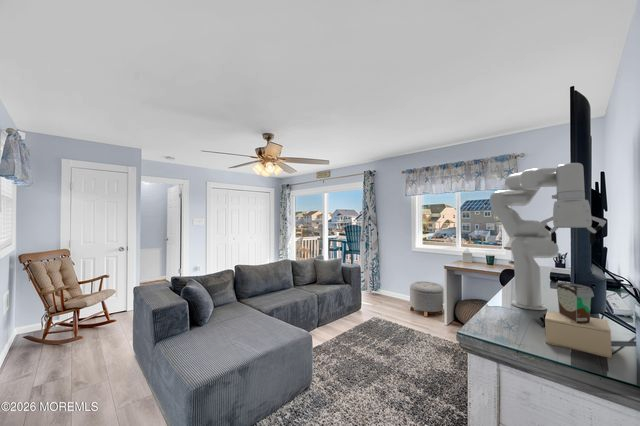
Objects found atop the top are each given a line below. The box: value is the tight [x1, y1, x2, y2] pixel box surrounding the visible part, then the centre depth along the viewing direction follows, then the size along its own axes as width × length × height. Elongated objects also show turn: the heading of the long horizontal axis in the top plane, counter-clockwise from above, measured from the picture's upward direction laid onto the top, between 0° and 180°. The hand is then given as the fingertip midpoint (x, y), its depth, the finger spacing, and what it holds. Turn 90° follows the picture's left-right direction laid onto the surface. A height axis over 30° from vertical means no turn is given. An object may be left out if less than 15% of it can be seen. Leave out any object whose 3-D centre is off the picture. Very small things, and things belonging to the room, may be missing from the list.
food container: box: [555, 281, 595, 324], centre depth 83 cm, size 12×6×10 cm, turn 162°
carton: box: [544, 320, 613, 359], centre depth 83 cm, size 11×14×7 cm
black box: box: [534, 311, 547, 329], centre depth 101 cm, size 12×7×5 cm, turn 153°
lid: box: [545, 309, 611, 333], centre depth 83 cm, size 11×14×1 cm
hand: (572, 243), depth 98 cm, fingers open, 9 cm apart
